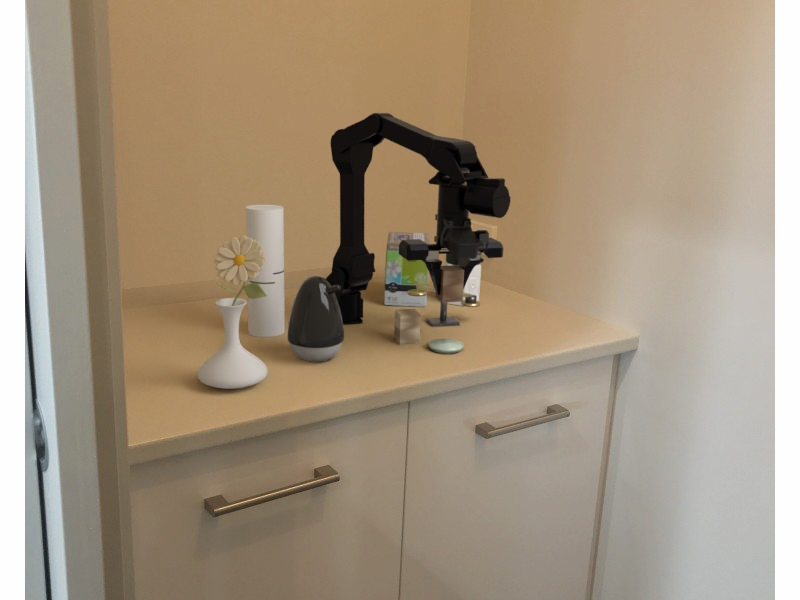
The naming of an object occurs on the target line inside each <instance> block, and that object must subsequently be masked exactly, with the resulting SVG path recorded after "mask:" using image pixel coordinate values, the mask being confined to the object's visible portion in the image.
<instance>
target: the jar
mask: <svg viewBox="0 0 800 600" xmlns="http://www.w3.org/2000/svg"><path fill="white" fill-rule="evenodd" d="M458 262H459V259H454V258H452V257H451V255H450V254H445V261H444V266H451V265H457V266H458V265H459V264H458ZM481 263H482V262H480V263H478V264H477V265H476V266H475V267H474V268H473V270H472V272H471V273H470V275H469V278H468V280H467V282H466V285H465V287H464V289H463V293H469V294H472V295H476V296H477V299H476V301H479V302H480V294H481V293H480V290H481V278H482V277H481V275H482V264H481ZM463 300H465V297H463ZM447 305H453V306H459V307H464V306H463V305H461V302H447Z"/></svg>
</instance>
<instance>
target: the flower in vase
mask: <svg viewBox="0 0 800 600" xmlns="http://www.w3.org/2000/svg"><path fill="white" fill-rule="evenodd" d="M262 248H263V246H262V245H261V244H259V242H257V241H255V240H252V238H248V237H246V235H243V234H242V235H241V236H238V237H236V236H233V237H232V238H231V239H229V240H225V241H224V242H223V243H222V245H221V247H218V248H217V254H216V255H214V260H213V263H214V265H216V266H215V270H216V271H218V272H216V275H217V277H219V278H220V279H222V280H224V282H229V283H230V284H231V285H233V286H237V285H242V286H241V288H240V290H239V291H238V293H236V292H235V291H234V290H233V289H232V288H231V287H228V286H227V285H224V284H223V283H220V282H219V281H217V279H216V278H215V282H216V284H217V285H218V286H220V287H221V288H223V289H225V290H227V291H229V292H230V293H232V294H234V295H236V296H235V297H226V298H220V299H217V300H216V301H215V302H214V304H215V306H217V308H218V310H219V311H220V314H221V316H222V320H223V326H224V327H223V328H224V341H223V345H222V346H221V348H220V349H219V350H217V352H216V353H214V354H212V355H211V356H210V357H209V358H207V359H206V360H205V361H204V362H203V364H201V366H199V369H198V371H197V378H198V380H199V381H200V382H201V383H202V384H204V385H207V386H210V387H213V388H219V389H225V390H229V389H235V390H236V389H242V388H247V387H251V386H253V385H256V384H258V383H260V382H262V381H264V379H266V378H267V375H268V373H269V370H268V368H267V366H266V364H265V363H264V362H263V361H262V360H261V359H260V358H259V357H257V356H256V355H254V354H253V353H252V352H251V351H248V350H247V349H246V348H244V346H243V345H242V344H241V341H240V333H239V332H240V318H241V314H242V312H243V309H244V308H245V306H246V305H247V304H248V300H246V299H244V298H239V296H241V293H242V292H243V291H244V293H245V295H246V296H247V298H248V297H249V298H251V299H255V298H261V297H265V296H267V295H266V294H265V292H264V291H263V289H262V288H261V287H260V286H259V285H258V284H257V283H251V284H248V285H247V281H251V280H252V279H255V278H256V276H258V271H260V270H262V266H263V265H264V262H265V261H266V258H265V257H263V255H264V251H263V250H262Z"/></svg>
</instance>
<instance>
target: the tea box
mask: <svg viewBox="0 0 800 600" xmlns="http://www.w3.org/2000/svg"><path fill="white" fill-rule="evenodd" d="M411 239H420V240H422V241H423V242H425V243H427V244H430V235H429V233H425V232H424V233H423V232H403V231H402V232H400V231H399V232H398V231H389V232H388V235H387V242H386V250H385V251H386V252H385V272H384V274H385V275H384V298H383V299H384V300H383V301H384V303H383V304H384V305H385V306H394V307H395V306H396V307H417V308H418V307H420V308H421V307H426V306H427V299H428V298H427V297H428V294H427V295H426V296H410V295H408V290H412V289H417V288H416V285H417V284H418V285H424V286H429V285H428V284H429V282H428V281H429V271H428V269H427V267H426V265H425V263H424V262H423V261H421V260H406V259H405V258H404V257H402V256H401V255H400V254H399V244H400V242H401V241H402V240H411ZM425 291H427V290H425ZM427 292H428V291H427Z"/></svg>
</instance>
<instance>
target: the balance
mask: <svg viewBox="0 0 800 600" xmlns="http://www.w3.org/2000/svg"><path fill="white" fill-rule="evenodd" d="M416 288H417V289H412V290H408V295H410V296H426V295H427V296H428V292H434V293H435V292H436V291H435V288H434V286H429V285H427V286H424V285H418V284H417V285H416ZM425 290H427V291H425ZM463 297H465V300H463V301H462V302H461V305H463V306H462V307H467V308H477V307H480V306H481V302H480V300H479V301H476V299H477V296H476V295H472V294H469V293H463ZM447 314H448V304H447V302H441V301H440V312H439V316H438V317H427V318H426V322H427V324H429V325H430V326H431V327H432V328H436V327H437V328H438V327H450V326H451V327H454V326H455V327H456V326H460V324H461V322H460V321H459V320H458V319H456V318H455V317H454V316H448V315H447Z"/></svg>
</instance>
